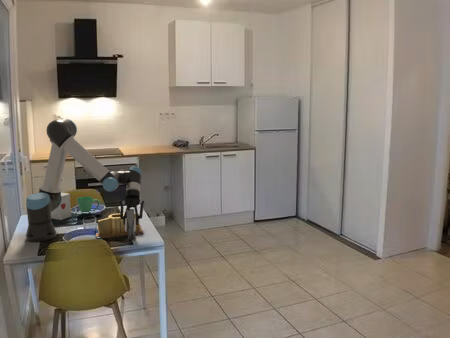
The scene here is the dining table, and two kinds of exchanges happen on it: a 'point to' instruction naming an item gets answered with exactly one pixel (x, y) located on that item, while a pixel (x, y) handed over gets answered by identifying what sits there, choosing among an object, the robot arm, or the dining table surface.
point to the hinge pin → (130, 224)
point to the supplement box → (62, 208)
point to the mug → (86, 203)
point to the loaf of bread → (114, 227)
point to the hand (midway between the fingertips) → (130, 230)
